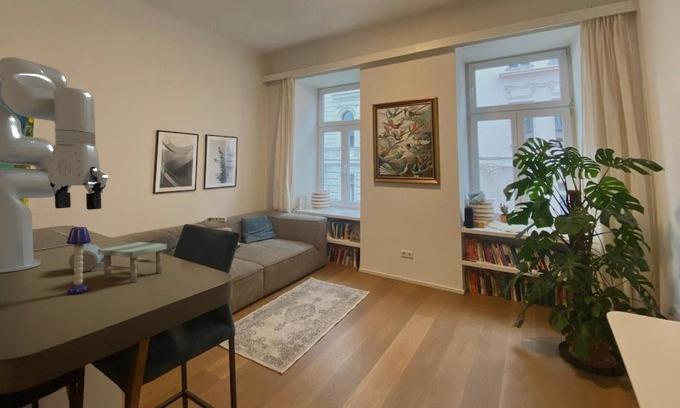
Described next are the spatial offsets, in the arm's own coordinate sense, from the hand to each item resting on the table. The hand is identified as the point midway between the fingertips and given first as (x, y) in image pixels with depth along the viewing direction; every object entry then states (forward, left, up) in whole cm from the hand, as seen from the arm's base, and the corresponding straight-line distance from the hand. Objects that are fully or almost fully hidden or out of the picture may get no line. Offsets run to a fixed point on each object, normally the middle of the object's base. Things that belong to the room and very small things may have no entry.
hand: (78, 208), depth 74 cm
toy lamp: (0, 0, -22) cm, 22 cm away
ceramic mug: (-17, +16, -22) cm, 32 cm away
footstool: (+2, +14, -22) cm, 26 cm away
